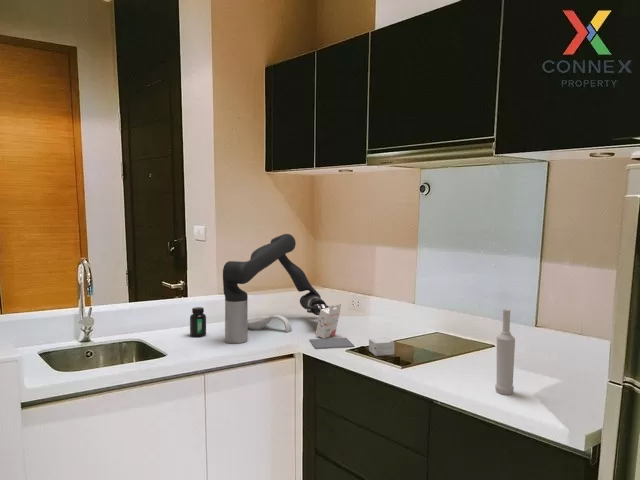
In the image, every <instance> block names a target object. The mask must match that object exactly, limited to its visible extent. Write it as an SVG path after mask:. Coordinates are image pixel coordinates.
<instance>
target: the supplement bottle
mask: <svg viewBox="0 0 640 480" xmlns="http://www.w3.org/2000/svg"><path fill="white" fill-rule="evenodd" d="M204 309H205V308H204V307H202V306H201V307H200V306H199V307H197V306H195V307H193V308H191V315H190V317H189V334H190V337H192V338H203V337H206V335H207V316H206V314H205V313H204V312H205V310H204Z"/></svg>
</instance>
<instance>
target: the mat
mask: <svg viewBox="0 0 640 480" xmlns="http://www.w3.org/2000/svg"><path fill="white" fill-rule="evenodd" d="M308 340H309V343H311V345H312V347H314V349H315V350H323V349H326V350H327V349H340V348H341V349H343V348H355V347H356V346H355V345H354V343H352V342H351V341H350V339H349V338H347V337H334V338H333V337H331V338H330V337H327V338H324V339H323V338H313V339H312V338H311V339H308Z"/></svg>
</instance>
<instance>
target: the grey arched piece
mask: <svg viewBox="0 0 640 480" xmlns="http://www.w3.org/2000/svg"><path fill="white" fill-rule="evenodd" d="M274 319H278V320H280V321H281V322H282V323H283V325H284V329H285V330H284V332H285V333H289V332H291V331H293V330H292V324H291V322H290V320H288V318H286V317H285V316H283V315H282V314H273V315H271V316H267V317H252V318H249V319H248V329H250V330H254V331H255V330H262V329H264V328H265V327H266V326H267V325H268V324H270V322H271V321H272V320H274Z"/></svg>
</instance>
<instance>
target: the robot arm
mask: <svg viewBox="0 0 640 480" xmlns="http://www.w3.org/2000/svg"><path fill="white" fill-rule="evenodd" d="M296 246H297V245H296V239H295V237H294V236H293V235H292V234H290V233H283V234H281V235H279V236H275V237H273V238H272V239H271V240H270V243H267V244H264V245H262V246H260V247H258V248H257V249H255V250H253V252H251V254H250V259H249V260H247V261H246V260H245V261H235V260H229V261H227V262H225V263H224V265H223V269H222V284H223V285H222V286H223V295H224V304H225V305H224V311H225V312H224V313H225V314H224V339H225V340H224V341H225V343H226V344H227V343H229V344H243V343H246V342H248V338H249V336H248V335H249V334H248V332H249V331H248V329H249V328H248V318H249V317H248V315H249V314H248V311H249V309H248V307H249V306H248V301H249V298H248V297H249V296H248V292H246V291H245V290H243V289H241V288H240V287H239V285H246V284H247V283H249V282H250V281H252V280H253V278H254V277H255V276H257V274H259V273H261V272H262V271H263V270H265V269H266V268H268V267H269V266H270V265H272V264H273V263H275V262H276V261H279V263H280V265H282V267H283V268H284V269H285V271H286V272H287V274H288V276H289V277H290V278H291V280H292V283H293V284H294V286H295V288H296V290H297V292H299V293H302V292H305V291H308V292H306V293H305V294H303V295H302V296H301V297H300V298H299V304H300V306H301V307H302V308H303V309H305V310H306V312H307V313H309V314H313V315H315V316H319V315H320V310H321V309H325V308H329V307H330V306H331V305H327V303H326V302H325V301H324V300H323V299H322V298H321V295H320V294H319V292H318V291H317V290H316V289H315V288H314V287H313V286H312V284H311V283H310V280H309V279H308V277H307V275H306V273H305V272H304V270H302V268H300V267H299V266H298V265H296V264H295V263H294V262H293V261H291V260H290V259H289V257H288V256H287V254H289V253H291V252H293V251H294V249H295V248H296Z"/></svg>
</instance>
